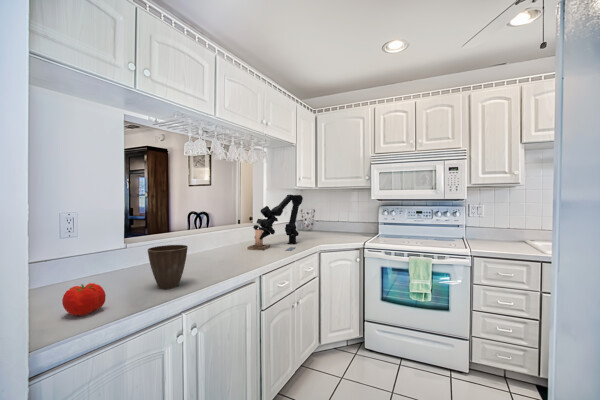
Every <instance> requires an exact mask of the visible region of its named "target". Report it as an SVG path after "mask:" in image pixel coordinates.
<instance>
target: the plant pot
mask: <svg viewBox="0 0 600 400" xmlns="http://www.w3.org/2000/svg"><path fill="white" fill-rule="evenodd" d="M147 255H148V260H149V263H150V264H149V265H150V270H151V272H152V274H153V277H154V280H155V282H156V283H155V284H157V285H156V286H157V287H158V288H159V289H161V290H169V289H174V288H177V287H178V286H179V284H180V282H181V279H182V276H183V273H184V269H185V265H186V261H187V255H188V245H185V244H168V245H167V244H166V245H165V244H164V245H158V246H153V247H150V248H147Z"/></svg>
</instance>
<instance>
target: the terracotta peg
mask: <svg viewBox="0 0 600 400" xmlns="http://www.w3.org/2000/svg"><path fill="white" fill-rule="evenodd" d="M254 230H255V229H254ZM254 233H255V234H254V239H255V240H254V244H255V247H263V245H264V244H263V242H264V238H263V239H261V240H260V239H259V238H260V236H261V235H262V233H263V230H255V231H254Z"/></svg>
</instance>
